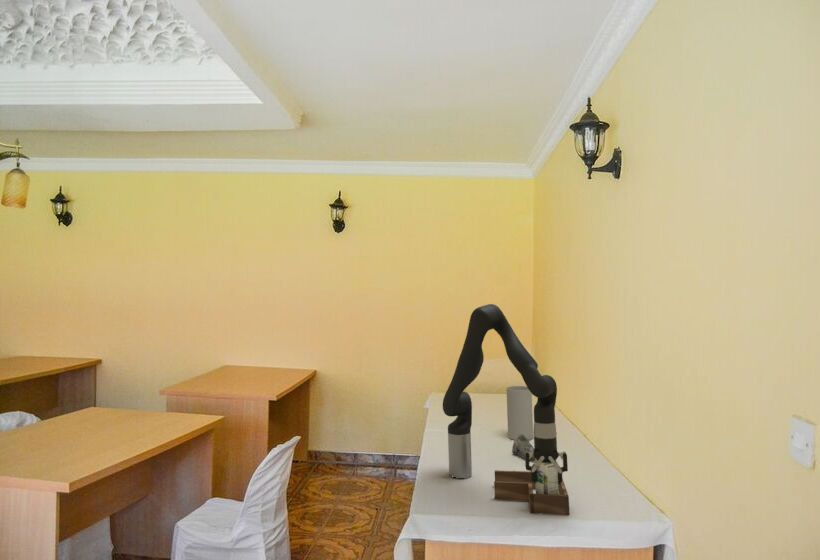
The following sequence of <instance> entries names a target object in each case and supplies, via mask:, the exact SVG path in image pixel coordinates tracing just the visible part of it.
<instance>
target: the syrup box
mask: <svg viewBox="0 0 820 560" xmlns="http://www.w3.org/2000/svg"><path fill="white" fill-rule="evenodd" d="M534 462H537V460H536V459H535V460H534ZM556 463H557V464H558V465H559V462H558V461H556ZM535 472H536V489H535V494H558V495H560V494H559V488H558V470H557V469H556V468H555V467H554V465H553V463H551V462H541V464H540V465H539V467H538V468H537V469H536V470H535Z"/></svg>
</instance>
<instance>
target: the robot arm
mask: <svg viewBox="0 0 820 560" xmlns="http://www.w3.org/2000/svg"><path fill="white" fill-rule="evenodd" d="M469 317H470V318H469V322H468V325H467V326H468V327H467V331H466V336H465V339H464V343H463V346H462V349H461V352H460V354H459V358H458V360H457V363H456V368H455V370H454V373H453V375H452V379H451V381H450V383H449V386H448V387H447V390H446V392H445V393H444V395H443V399H442V411H443V413H444V415H446V416H447V417H456V418H455V419H454V420H453V421H452V422H450V423H449V424H448V426H447V442H448V444H447V445H448V446H447V447H448V474H450V475H451V476H453V477H456V478H455V479H458V478H464V479H469V478H470V477H472V476H473V472H472V471H473V467H472V466H473V465H472V464H473V462H472V441H471V440H472V437H471V435H472V434H471V429H472V423H473V421H472V420H473V416H472V415H473V403H472V398H471V396H470V394H469V393H468V392H466V391H465V390H466V389H467V387H468V386H470V384H472V383H473V382H474V381H475V380H476V379H477V378H478V376H479V374H480V372H481V370H482V367H483V363H484V358H485V357H484V356H485V355H484V351H483V342H484V339H485V336H486V335H487V333H488V332H489V331H492V330H494V331H495V332H496V333H497V334H498V336H500V338H501V340H502V342H503V345H504V348H505V352H506V356H507V358H508V359H509V361H510V363H511V364H512V366H513V367H514V368H515V369H516V370H517V371H518V373H519V374H520V375H521V377H522V380H523V381H524V383H525V386H526V387H527V388H528V389H529V391H530V392H531V393H532V396H534V397H536V398H537V401H536V404H535V405H534V406H533V442H534V443H533V444H534V445H533V448H534V451H533V452H528V451H525V459H524V461H525V465H524V466H525V470H526V471H530V472H531V479H532V481H534V483H536V472H535V470H536V469H537V468H538V467H539V465H540V464H541V462H551V463H553V465H554V467H555V468H556V469H557V470H558V484H561V482H562V481H564V479H563V480H562V478H563V473H565V472H568V470H569V468H568V454H567V452H566V451H562V452H559V451H558V445H557V444H558V441H557V439H558V438H557V434H558V432H557V425H556V411H555V408H556V403H557V395H558V385H557V383H556V380H555V378H554V377H552V376H551V375H549V374H543V375H542V374H541V373H540V372H539V368H538V367H539V365H538V363H537V361H536V360H535V359H534V357H533V356H532V355H531V353H529V351H528V350H527V348H525V346H524V345H523V343H522V342H521V341H520V339H519V337H518V336H517V334H516V333H515V331H514V329H513V328H512V325H511V324H510V323H509V321H508V319H507V317H506V316H505V314H504V313H503V311H502V309H501V308H500V307H499V306H498V305H496V304H494V303H489V304H486V305H485V304H484V305H481V306H479V307H477V308H475V309H474V310H472V312H471V314H470V316H469ZM532 456H534V457H535V458H536V459H535V458H534V459H535V460H537V462H535V461H533V464H532V465H530V458H531V457H532ZM559 457H560V460H562V466H560V465H559V463H558V462H557V459H558V458H559ZM556 462H557V463H558V464H557V463H556ZM450 475H449V476H450ZM451 476H450V477H451ZM453 477H452V478H453Z"/></svg>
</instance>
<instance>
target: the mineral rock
mask: <svg viewBox="0 0 820 560" xmlns="http://www.w3.org/2000/svg"><path fill="white" fill-rule="evenodd" d="M511 448H512V449H511V453H512V454H514V455H516V456H518V457H521V458H525V451H528V452H533V451H534V445H532V444H531V443H530V440H529V439H528V438H527V437H526V436H525V435H524V434H518V435H517V437H516V438H515V440H513V444H512V447H511ZM530 459H531V460H532V459H535V460H536V458H535V457H534V456H532V457H531V458H530ZM530 459H529V460H530Z"/></svg>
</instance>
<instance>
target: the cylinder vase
mask: <svg viewBox="0 0 820 560" xmlns="http://www.w3.org/2000/svg"><path fill="white" fill-rule="evenodd" d="M505 388H506V409H507V410H506V411H507V412H506V413H507V414H506V416H507V436H508V438H509V439H510V440H513V441H514V440H515V438H516V437H517V435H518V434H524V435H525V436H526V437H527V438H528V439H529V441H530V440H533V439H534V414H533V394H532V393H531V392H530V391H529V389H528V388H527V386H526V385H525V386H524V385H512V386H511V385H510V386H507V387H505Z"/></svg>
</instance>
